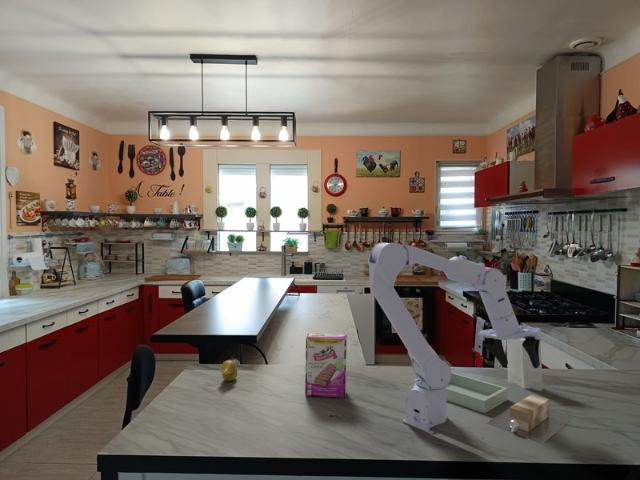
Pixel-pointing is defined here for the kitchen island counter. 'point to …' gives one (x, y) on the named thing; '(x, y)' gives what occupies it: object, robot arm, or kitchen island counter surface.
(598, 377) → the kitchen island counter surface
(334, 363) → the candy bar box
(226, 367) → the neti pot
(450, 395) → the bin
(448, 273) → the robot arm
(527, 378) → the skincare box
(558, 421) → the mount
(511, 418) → the tan long block
